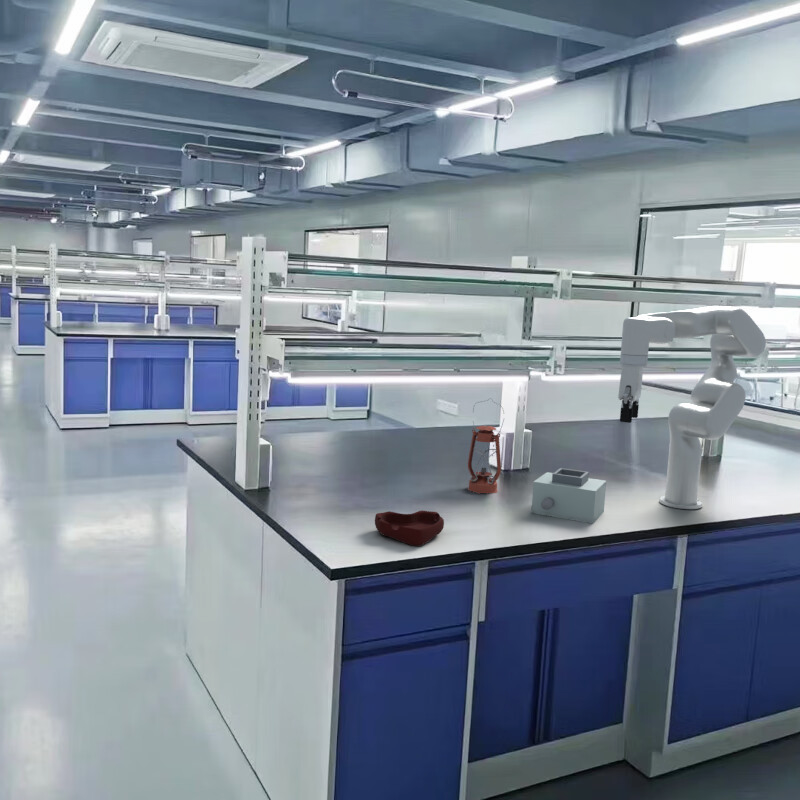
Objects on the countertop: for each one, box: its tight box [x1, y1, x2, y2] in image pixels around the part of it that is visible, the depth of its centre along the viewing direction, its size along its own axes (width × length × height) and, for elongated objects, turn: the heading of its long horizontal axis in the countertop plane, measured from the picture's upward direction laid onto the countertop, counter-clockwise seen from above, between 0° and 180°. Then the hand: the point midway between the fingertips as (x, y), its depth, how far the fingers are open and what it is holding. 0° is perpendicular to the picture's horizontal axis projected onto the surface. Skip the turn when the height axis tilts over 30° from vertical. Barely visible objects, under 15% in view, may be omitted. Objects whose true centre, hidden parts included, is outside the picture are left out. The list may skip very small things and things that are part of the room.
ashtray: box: [374, 510, 445, 547], centre depth 201 cm, size 18×16×5 cm
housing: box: [530, 467, 607, 524], centre depth 227 cm, size 17×18×12 cm
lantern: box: [467, 397, 505, 495], centre depth 248 cm, size 10×10×30 cm
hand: (628, 419), depth 226 cm, fingers open, 9 cm apart
